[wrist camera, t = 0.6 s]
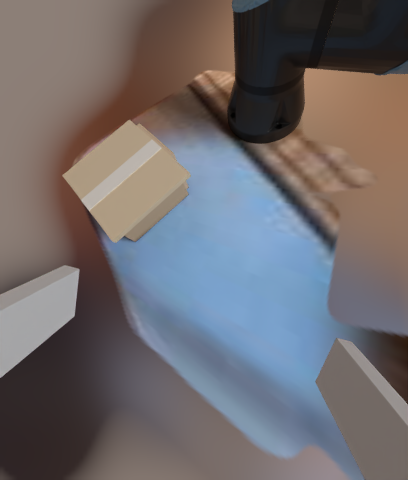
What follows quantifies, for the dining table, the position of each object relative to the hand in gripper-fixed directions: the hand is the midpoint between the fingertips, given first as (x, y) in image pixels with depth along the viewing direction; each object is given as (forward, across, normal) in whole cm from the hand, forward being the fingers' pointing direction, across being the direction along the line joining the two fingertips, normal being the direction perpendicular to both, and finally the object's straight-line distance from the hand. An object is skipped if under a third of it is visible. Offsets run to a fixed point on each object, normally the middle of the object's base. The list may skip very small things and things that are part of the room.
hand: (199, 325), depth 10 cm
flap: (+21, -15, +5) cm, 26 cm away
